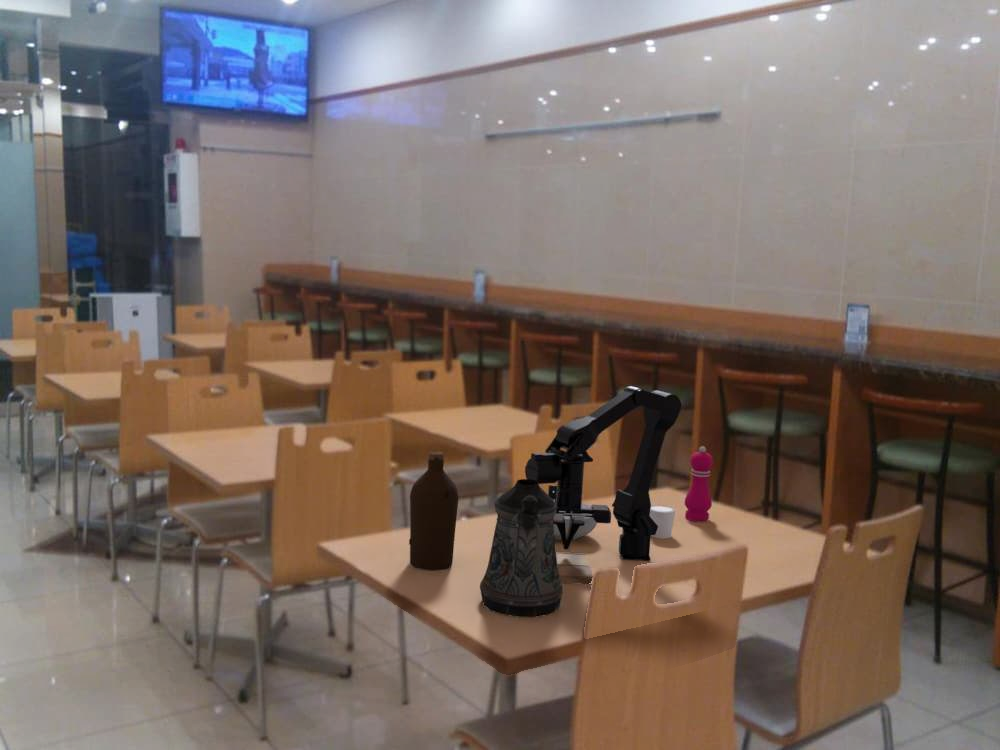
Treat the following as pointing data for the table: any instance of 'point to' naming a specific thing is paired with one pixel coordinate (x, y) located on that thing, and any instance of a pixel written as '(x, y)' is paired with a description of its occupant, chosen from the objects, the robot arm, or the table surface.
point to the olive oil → (433, 517)
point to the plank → (571, 559)
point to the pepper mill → (699, 487)
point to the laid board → (575, 574)
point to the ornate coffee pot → (523, 554)
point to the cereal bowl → (582, 530)
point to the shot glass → (662, 520)
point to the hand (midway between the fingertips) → (565, 549)
